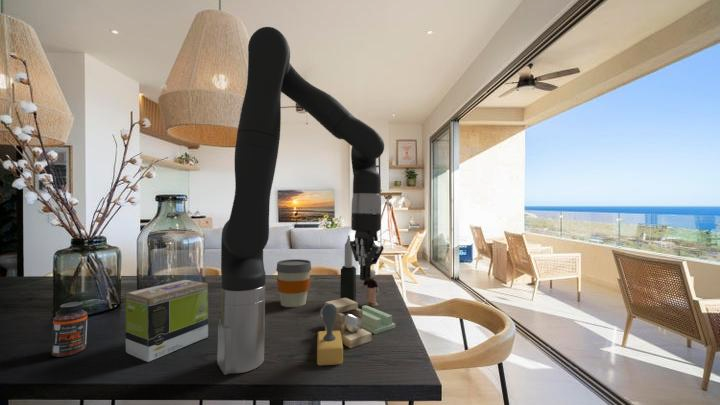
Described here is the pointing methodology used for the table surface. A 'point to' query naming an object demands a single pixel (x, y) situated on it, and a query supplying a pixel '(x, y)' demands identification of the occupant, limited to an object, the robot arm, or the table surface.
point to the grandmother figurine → (371, 290)
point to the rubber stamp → (329, 340)
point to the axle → (349, 321)
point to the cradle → (376, 320)
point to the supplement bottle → (69, 330)
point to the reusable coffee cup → (293, 281)
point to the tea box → (165, 318)
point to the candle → (348, 275)
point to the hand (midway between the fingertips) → (365, 280)
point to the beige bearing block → (339, 324)
